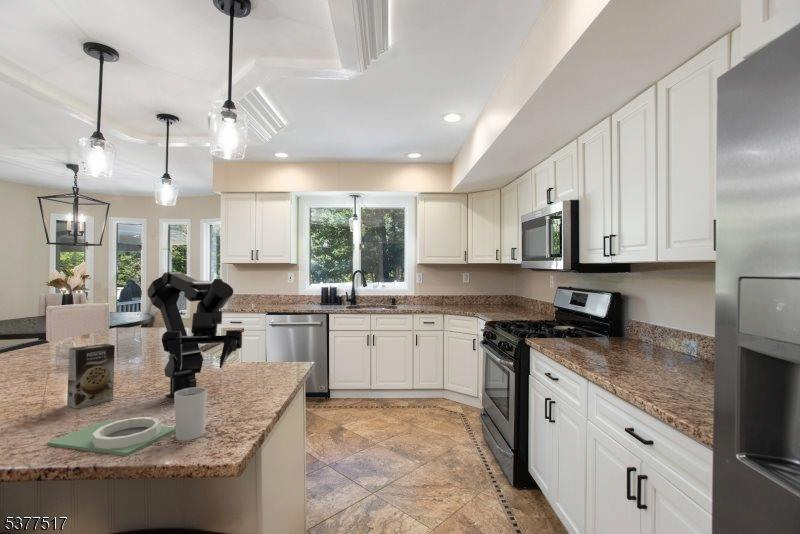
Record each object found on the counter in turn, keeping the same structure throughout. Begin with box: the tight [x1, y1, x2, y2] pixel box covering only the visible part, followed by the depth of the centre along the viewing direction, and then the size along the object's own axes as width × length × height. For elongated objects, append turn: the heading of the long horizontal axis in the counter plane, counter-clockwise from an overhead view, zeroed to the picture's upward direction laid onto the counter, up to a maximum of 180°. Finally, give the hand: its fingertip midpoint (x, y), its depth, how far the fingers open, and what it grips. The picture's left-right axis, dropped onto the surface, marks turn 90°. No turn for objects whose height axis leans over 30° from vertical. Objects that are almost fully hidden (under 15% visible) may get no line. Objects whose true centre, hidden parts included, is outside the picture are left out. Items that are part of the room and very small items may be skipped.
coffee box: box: [66, 343, 116, 410], centre depth 109 cm, size 9×6×16 cm
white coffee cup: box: [173, 386, 208, 441], centre depth 87 cm, size 7×7×10 cm
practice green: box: [46, 416, 176, 457], centre depth 86 cm, size 21×13×3 cm, turn 77°
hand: (200, 368), depth 96 cm, fingers open, 9 cm apart
